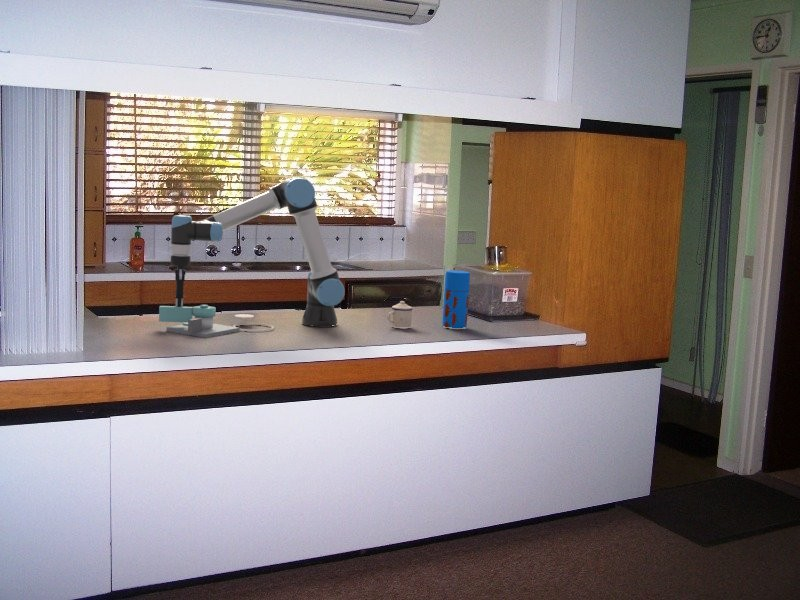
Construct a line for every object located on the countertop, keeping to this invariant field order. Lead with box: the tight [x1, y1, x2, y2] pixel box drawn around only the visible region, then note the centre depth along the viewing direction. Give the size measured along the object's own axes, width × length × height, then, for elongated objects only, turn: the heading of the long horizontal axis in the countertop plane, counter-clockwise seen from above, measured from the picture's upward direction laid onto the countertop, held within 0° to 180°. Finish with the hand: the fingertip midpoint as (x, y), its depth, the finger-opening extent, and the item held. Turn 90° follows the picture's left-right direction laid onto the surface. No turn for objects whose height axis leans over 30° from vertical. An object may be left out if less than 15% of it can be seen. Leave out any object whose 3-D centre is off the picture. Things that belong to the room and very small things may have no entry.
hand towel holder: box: [232, 313, 275, 333], centre depth 353 cm, size 17×4×20 cm
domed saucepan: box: [158, 304, 217, 323], centre depth 338 cm, size 22×9×7 cm, turn 97°
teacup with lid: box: [386, 300, 413, 327], centre depth 373 cm, size 12×9×12 cm
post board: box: [166, 316, 241, 339], centre depth 338 cm, size 20×23×6 cm
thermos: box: [442, 270, 471, 328], centre depth 380 cm, size 11×11×25 cm
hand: (178, 314), depth 340 cm, fingers closed
